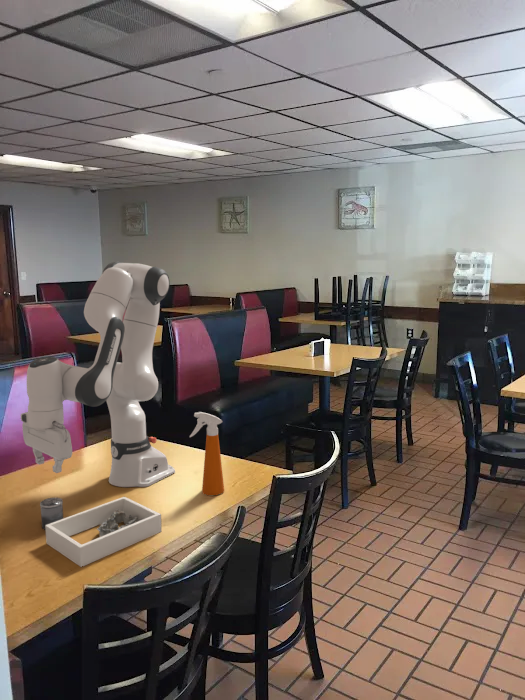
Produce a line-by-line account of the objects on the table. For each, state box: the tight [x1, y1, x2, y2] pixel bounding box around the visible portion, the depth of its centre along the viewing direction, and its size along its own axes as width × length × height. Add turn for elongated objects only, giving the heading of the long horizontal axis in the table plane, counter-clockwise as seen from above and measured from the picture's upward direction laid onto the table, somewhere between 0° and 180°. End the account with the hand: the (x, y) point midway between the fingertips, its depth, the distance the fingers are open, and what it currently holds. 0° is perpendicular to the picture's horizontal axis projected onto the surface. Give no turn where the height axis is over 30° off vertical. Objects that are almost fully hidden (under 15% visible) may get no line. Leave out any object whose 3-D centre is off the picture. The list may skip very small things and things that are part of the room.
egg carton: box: [96, 509, 137, 537], centre depth 152 cm, size 11×8×4 cm
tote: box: [45, 496, 162, 568], centre depth 148 cm, size 24×17×5 cm
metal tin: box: [39, 497, 64, 531], centre depth 155 cm, size 6×6×7 cm
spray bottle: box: [189, 411, 225, 496], centre depth 175 cm, size 7×11×26 cm, turn 110°
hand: (48, 467), depth 152 cm, fingers open, 8 cm apart
